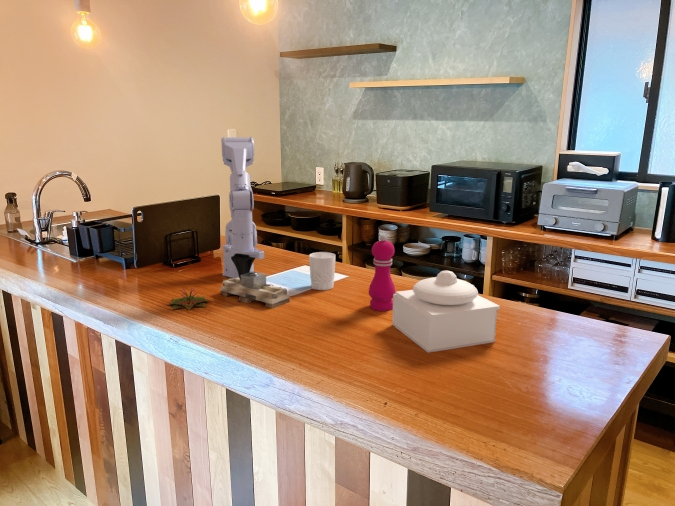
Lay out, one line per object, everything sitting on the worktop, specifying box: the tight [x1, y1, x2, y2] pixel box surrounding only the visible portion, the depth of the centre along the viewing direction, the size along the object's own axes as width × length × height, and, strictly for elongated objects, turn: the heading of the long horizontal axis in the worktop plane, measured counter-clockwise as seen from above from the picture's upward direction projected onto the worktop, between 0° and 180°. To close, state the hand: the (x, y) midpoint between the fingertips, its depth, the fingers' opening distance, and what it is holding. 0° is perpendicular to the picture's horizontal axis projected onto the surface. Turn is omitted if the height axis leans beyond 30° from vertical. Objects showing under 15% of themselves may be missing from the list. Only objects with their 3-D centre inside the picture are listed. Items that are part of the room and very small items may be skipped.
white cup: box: [308, 251, 336, 291], centre depth 161 cm, size 8×8×10 cm
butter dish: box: [391, 270, 501, 354], centre depth 125 cm, size 18×18×16 cm
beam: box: [220, 277, 290, 309], centre depth 151 cm, size 20×9×4 cm, turn 54°
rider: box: [241, 270, 267, 289], centre depth 151 cm, size 5×5×5 cm
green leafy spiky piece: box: [167, 288, 210, 311], centre depth 146 cm, size 12×12×5 cm
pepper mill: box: [368, 234, 396, 312], centre depth 142 cm, size 7×7×20 cm
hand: (244, 279), depth 153 cm, fingers closed
